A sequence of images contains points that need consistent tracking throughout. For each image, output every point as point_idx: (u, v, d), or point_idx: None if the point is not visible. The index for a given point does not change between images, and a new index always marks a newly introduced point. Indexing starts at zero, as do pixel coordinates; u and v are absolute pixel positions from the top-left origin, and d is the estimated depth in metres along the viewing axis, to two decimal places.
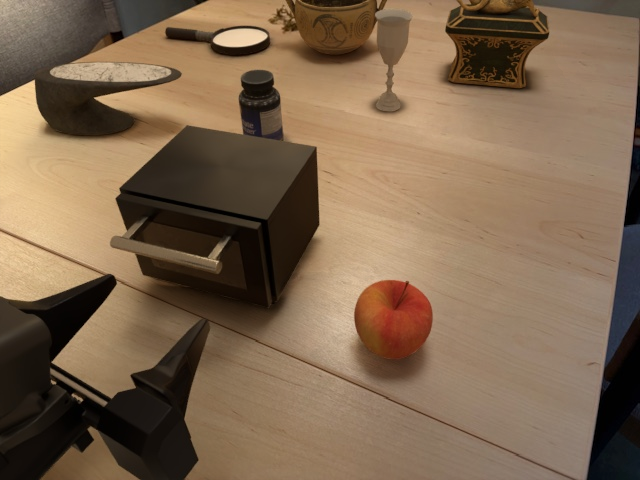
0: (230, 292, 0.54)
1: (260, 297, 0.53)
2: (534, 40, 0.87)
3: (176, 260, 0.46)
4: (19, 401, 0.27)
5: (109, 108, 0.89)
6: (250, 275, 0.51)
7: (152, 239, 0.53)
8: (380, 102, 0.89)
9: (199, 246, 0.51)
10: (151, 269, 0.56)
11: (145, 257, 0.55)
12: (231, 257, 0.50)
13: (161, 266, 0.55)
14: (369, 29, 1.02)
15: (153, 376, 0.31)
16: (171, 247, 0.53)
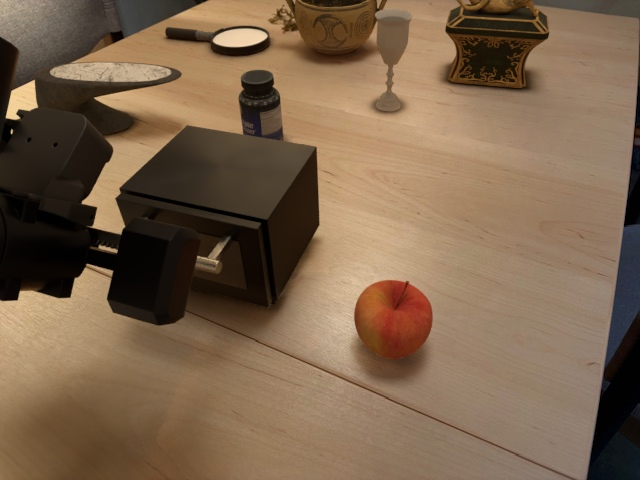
0: (230, 292, 0.54)
1: (260, 297, 0.53)
2: (534, 40, 0.87)
3: None
4: (73, 177, 0.32)
5: (109, 108, 0.89)
6: (250, 275, 0.51)
7: None
8: (380, 102, 0.89)
9: None
10: None
11: None
12: (231, 257, 0.50)
13: None
14: (369, 28, 1.02)
15: None
16: None
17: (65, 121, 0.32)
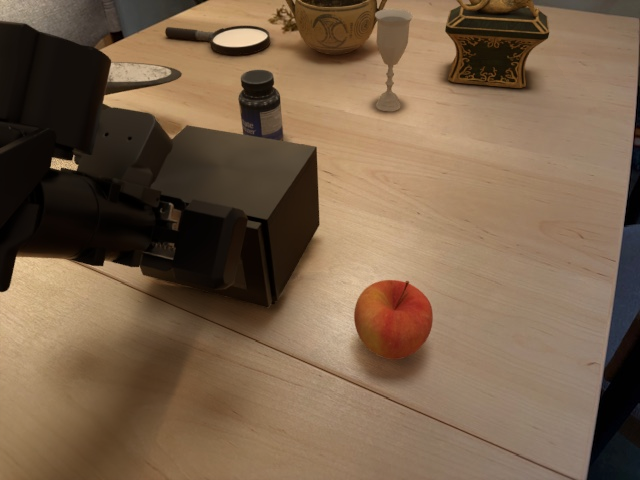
0: (230, 292, 0.54)
1: (260, 297, 0.53)
2: (534, 40, 0.87)
3: None
4: (144, 166, 0.38)
5: None
6: (250, 275, 0.51)
7: None
8: (380, 102, 0.89)
9: None
10: (151, 269, 0.56)
11: None
12: None
13: None
14: (369, 28, 1.02)
15: None
16: None
17: (136, 119, 0.38)
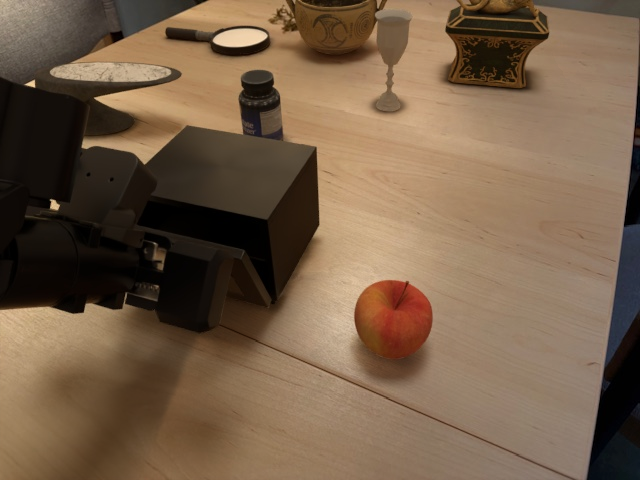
0: (229, 295, 0.54)
1: (258, 301, 0.53)
2: (534, 40, 0.87)
3: None
4: (127, 207, 0.37)
5: (109, 108, 0.89)
6: (244, 286, 0.50)
7: None
8: (380, 102, 0.89)
9: None
10: None
11: None
12: None
13: None
14: (369, 28, 1.02)
15: None
16: None
17: (119, 158, 0.38)
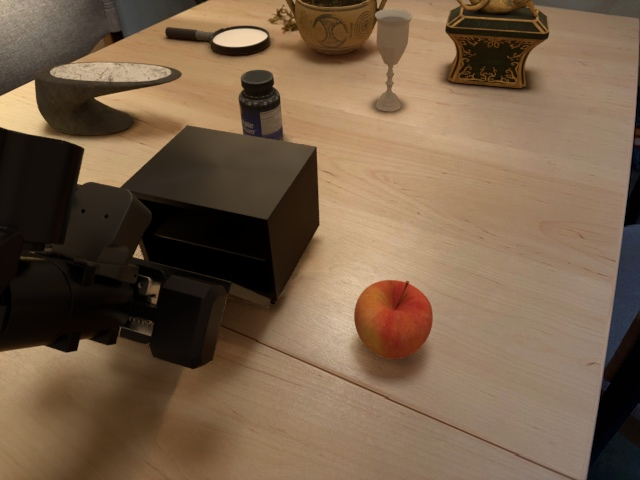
0: None
1: None
2: (534, 40, 0.87)
3: None
4: (121, 244, 0.37)
5: (109, 108, 0.89)
6: (240, 299, 0.50)
7: None
8: (380, 102, 0.89)
9: None
10: None
11: None
12: None
13: None
14: (369, 28, 1.02)
15: None
16: None
17: (114, 195, 0.38)
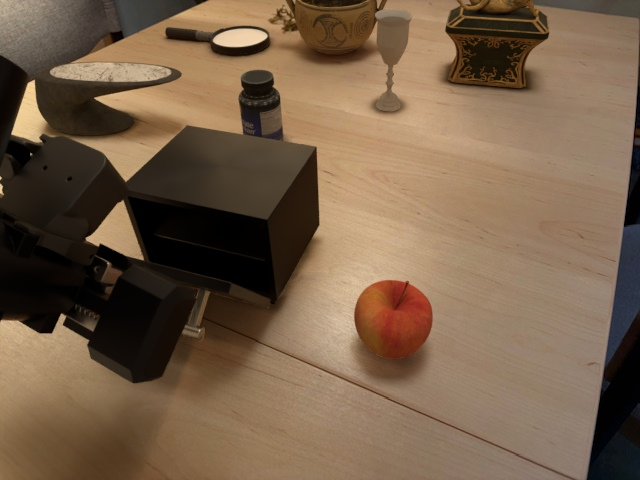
0: None
1: (257, 305, 0.53)
2: (534, 40, 0.87)
3: None
4: (80, 215, 0.31)
5: (109, 108, 0.89)
6: (239, 299, 0.50)
7: None
8: (380, 102, 0.89)
9: None
10: None
11: None
12: (215, 293, 0.49)
13: None
14: (369, 28, 1.02)
15: None
16: None
17: (85, 156, 0.31)
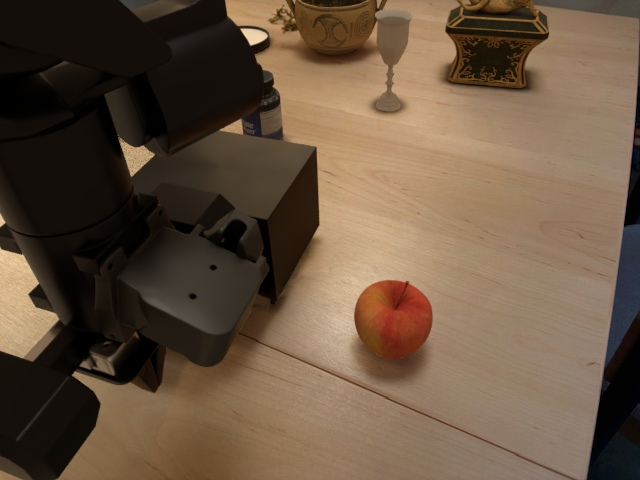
0: None
1: (257, 305, 0.53)
2: (534, 40, 0.87)
3: None
4: (147, 316, 0.24)
5: None
6: None
7: None
8: (380, 102, 0.89)
9: None
10: None
11: None
12: None
13: None
14: (369, 28, 1.02)
15: None
16: None
17: (227, 309, 0.24)
